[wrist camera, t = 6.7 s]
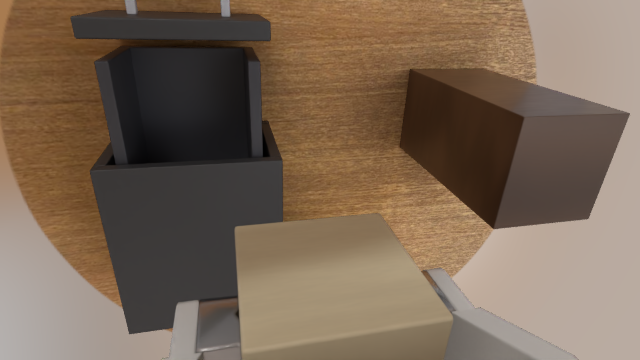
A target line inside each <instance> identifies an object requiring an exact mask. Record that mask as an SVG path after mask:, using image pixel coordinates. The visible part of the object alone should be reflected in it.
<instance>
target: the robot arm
mask: <svg viewBox="0 0 640 360" xmlns="http://www.w3.org/2000/svg"><path fill="white" fill-rule="evenodd" d="M421 272H422V273H423V275H424V276H425V278H426V279H427V280H428V282H429V283H430V285H431V286H432V287H433V289H434V290H435V292H436V293H437V294H438V296H439V297H440V299H441V300H442V301H443V303H444V304H445V306H446V307H447V308H448V310H449V311H450V313H451V314H452V316H453V324H452V328H451V332H450V336H449V340H448V345H447V349H446V353H445V357H444V360H578V359H577V358H576V357H575V356H574V355H572V354H571V353H569V352H567V351H565V350H563V349H561V348H559V347H557V346H555V345H553V344H551V343H549V342H547V341H545V340H543V339H541V338H539V337H537V336H535V335H533V334H531V333H530V332H527V331H526V330H524V329H522V328H520V327H517V326H516V325H514V324H512V323H510V322H508V321H506V320H504V319H502V318H500V317H498V316H496V315H494V314H492V313H490V312H489V311H487V310H485V309H483V308H481V307H480V308H475V307H474V306H473V304H472V303H471V302H470V301H469V300H468V298H467V297H466V296H465V295H464V293H463V292H462V291H461V290H460V289H459V287H458V286H457V285H456V284H455V282H454V281H453V280H452V279H451V277H450V276H449V275H448V274H447V272H446V271H445V270H444V269H442V268H434V269H427V270H423V271H421ZM161 360H242V353H241V336H240V319H239V301H238V295H235V296H226V297H217V298H208V299H200V300H193V301H184V302H178V304H177V306H176V311H175V318H174V325H173V332H172V340H171V346H170V353H169V357H168V358H162V359H161Z"/></svg>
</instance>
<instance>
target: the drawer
mask: <svg viewBox="0 0 640 360" xmlns="http://www.w3.org/2000/svg"><path fill="white" fill-rule="evenodd" d="M220 1H221V13H193V12H158V11H138V9H137V3H136V0H125V5H126V11H122V10H104V11H98V12H93V13H88V14H82V15H77V16H72V17H71V22H72V27H73V31H74V36H75V38H77V39H143V40H218V41H270V40H271V30H270V21H268V20H267V19H265V18H263V17H262V16H260V15H259V14H230V0H220ZM94 63H95V68H96V73H97V77H98V82H99V87H100V92H101V96H102V101H103V106H104V111H105V115H106V120H107V125H108V130H109V135H110V139H111V144H112V149H113V154H114V158H115V163H116V165H127V164H146V163H165V162H185V161H204V160H223V159H242V158H261V157H263V142H262V108H261V73H260V61H259V59H258V57H257V56H256V54H255V52H254V50H253V48H252V47H176V46H120V47H119V48H117V49H115V50H114V51H112V52H110V53H109V54H107V55H105V56H103V57H102V58H100V59H98V60H96V61H95V62H94Z"/></svg>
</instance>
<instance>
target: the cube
mask: <svg viewBox="0 0 640 360" xmlns="http://www.w3.org/2000/svg"><path fill="white" fill-rule="evenodd" d="M234 231H235V249H236V266H237V284H238V301H239V319H240V336H241V353H242V360H444V357H445V353H446V349H447V345H448V340H449V336H450V332H451V328H452V324H453V316H452V314H451V313H450V311H449V310H448V308H447V307H446V306H445V304H444V303H443V301H442V300H441V299H440V297H439V296H438V294H437V293H436V292H435V290H434V289H433V287H432V286H431V285H430V283H429V282H428V280H427V279H426V278H425V276H424V275H423V273H422V272H421V271H420V269H419V268H418V266H417V265H416V263H415V262H414V261H413V259H412V258H411V256H410V255H409V254H408V252H407V251H406V249H405V248H404V247H403V245H402V244H401V242H400V241H399V240H398V238H397V237H396V235H395V234H394V233H393V231H392V230H391V228H390V227H389V226H388V224H387V223H386V221H385V220H384V218H383V217H382V216H381V214H379V213H373V214H362V215H351V216H341V217H330V218H320V219H309V220H299V221H288V222H277V223H267V224H256V225H246V226H237V227H235V230H234Z"/></svg>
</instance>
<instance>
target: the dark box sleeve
mask: <svg viewBox="0 0 640 360" xmlns="http://www.w3.org/2000/svg"><path fill="white" fill-rule="evenodd" d="M262 142H263V157H261V158H242V159H223V160H204V161H185V162H165V163H146V164H127V165H116V163H115V158H114V154H113V149H112V144H111V142H110V143H109V145H108V146H107V148H106V149H105V150H104V152H103V153H102V155H101V156H100V157H99V159H98V160H97V162H96V163H95V164H94V166H93V167H92V168H91V170H90V175H91V179H92V183H93V187H94V191H95V195H96V200H97V204H98V208H99V212H100V216H101V220H102V224H103V228H104V232H105V237H106V241H107V245H108V249H109V253H110V257H111V261H112V265H113V269H114V273H115V278H116V282H117V286H118V290H119V294H120V298H121V302H122V306H123V310H124V314H125V318H126V322H127V327H128V331H129V334H134V333H141V332H148V331H155V330H163V329H170V328H173V325H174V318H175V311H176V306H177V304H178V302H184V301H193V300H200V299H208V298H217V297H226V296H235V295H238V284H237V266H236V249H235V231H234V230H235V227H237V226H246V225H256V224H267V223H277V222H283V161H282V158H281V156H280V153H279V150H278V147H277V145H276V142H275V139H274V136H273V134H272V131H271V128H270V125H269V122H268V121H262Z"/></svg>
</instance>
